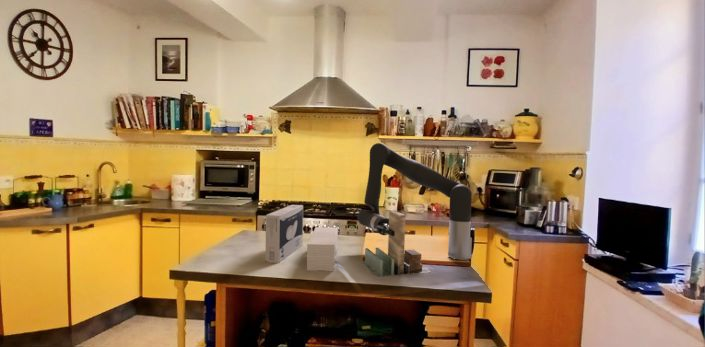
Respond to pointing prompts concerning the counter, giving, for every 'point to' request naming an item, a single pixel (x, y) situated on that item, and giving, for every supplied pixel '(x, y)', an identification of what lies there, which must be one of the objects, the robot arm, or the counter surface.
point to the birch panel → (397, 238)
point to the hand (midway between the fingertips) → (397, 233)
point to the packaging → (283, 232)
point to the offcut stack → (413, 259)
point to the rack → (387, 264)
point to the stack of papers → (322, 249)
